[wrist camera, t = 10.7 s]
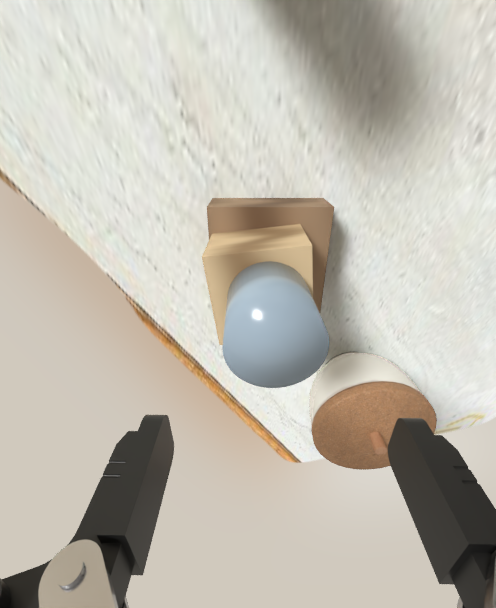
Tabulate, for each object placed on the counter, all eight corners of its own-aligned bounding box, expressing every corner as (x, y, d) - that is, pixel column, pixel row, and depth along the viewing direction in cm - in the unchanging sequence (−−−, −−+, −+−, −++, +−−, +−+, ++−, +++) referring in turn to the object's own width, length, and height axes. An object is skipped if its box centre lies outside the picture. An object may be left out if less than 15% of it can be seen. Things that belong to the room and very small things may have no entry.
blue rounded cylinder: (313, 261, 18) (337, 302, 13) (304, 333, 20) (321, 387, 16) (226, 260, 18) (221, 302, 13) (227, 333, 20) (224, 387, 16)
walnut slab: (322, 197, 24) (334, 207, 21) (311, 294, 29) (319, 315, 25) (213, 197, 25) (206, 207, 21) (218, 294, 29) (214, 315, 25)
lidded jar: (296, 406, 36) (310, 486, 27) (305, 333, 30) (325, 404, 22) (386, 408, 36) (426, 488, 27) (410, 334, 30) (468, 406, 22)
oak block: (300, 223, 22) (312, 245, 17) (302, 301, 25) (313, 336, 20) (211, 233, 22) (202, 257, 18) (225, 309, 25) (219, 345, 21)
